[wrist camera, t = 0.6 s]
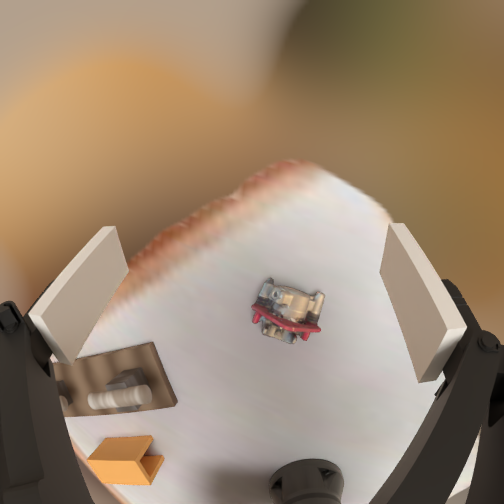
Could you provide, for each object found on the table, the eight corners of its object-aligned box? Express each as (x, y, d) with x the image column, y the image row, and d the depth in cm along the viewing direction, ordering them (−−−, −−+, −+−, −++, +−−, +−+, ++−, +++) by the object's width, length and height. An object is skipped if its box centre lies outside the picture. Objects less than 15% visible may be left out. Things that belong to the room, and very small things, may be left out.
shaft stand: (153, 341, 49) (127, 361, 38) (177, 401, 48) (159, 431, 38) (42, 365, 50) (12, 379, 40) (64, 413, 50) (38, 433, 39)
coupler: (151, 435, 49) (134, 460, 40) (164, 458, 49) (150, 485, 40) (105, 437, 49) (86, 459, 40) (119, 460, 49) (102, 483, 40)
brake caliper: (238, 341, 45) (249, 313, 36) (257, 287, 52) (271, 248, 42) (303, 362, 45) (331, 339, 36) (315, 307, 51) (342, 273, 42)
